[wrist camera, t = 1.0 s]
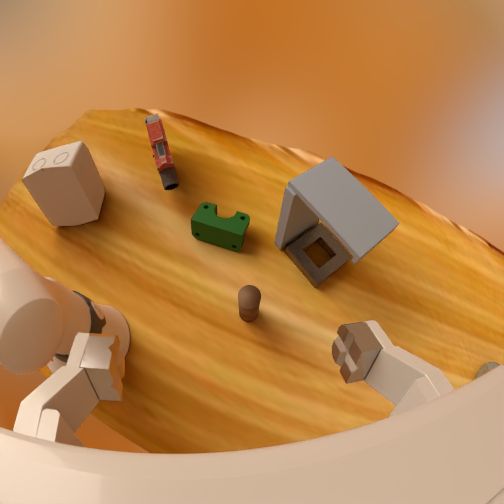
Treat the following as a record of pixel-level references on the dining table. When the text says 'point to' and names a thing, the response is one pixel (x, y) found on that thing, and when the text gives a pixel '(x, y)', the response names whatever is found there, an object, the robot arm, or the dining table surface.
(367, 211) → the gray cantilever bracket
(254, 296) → the peg
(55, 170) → the electrical switch box
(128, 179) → the dining table surface
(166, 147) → the toy gun
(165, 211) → the dining table surface
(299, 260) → the socket
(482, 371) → the air freshener
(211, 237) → the clamp
